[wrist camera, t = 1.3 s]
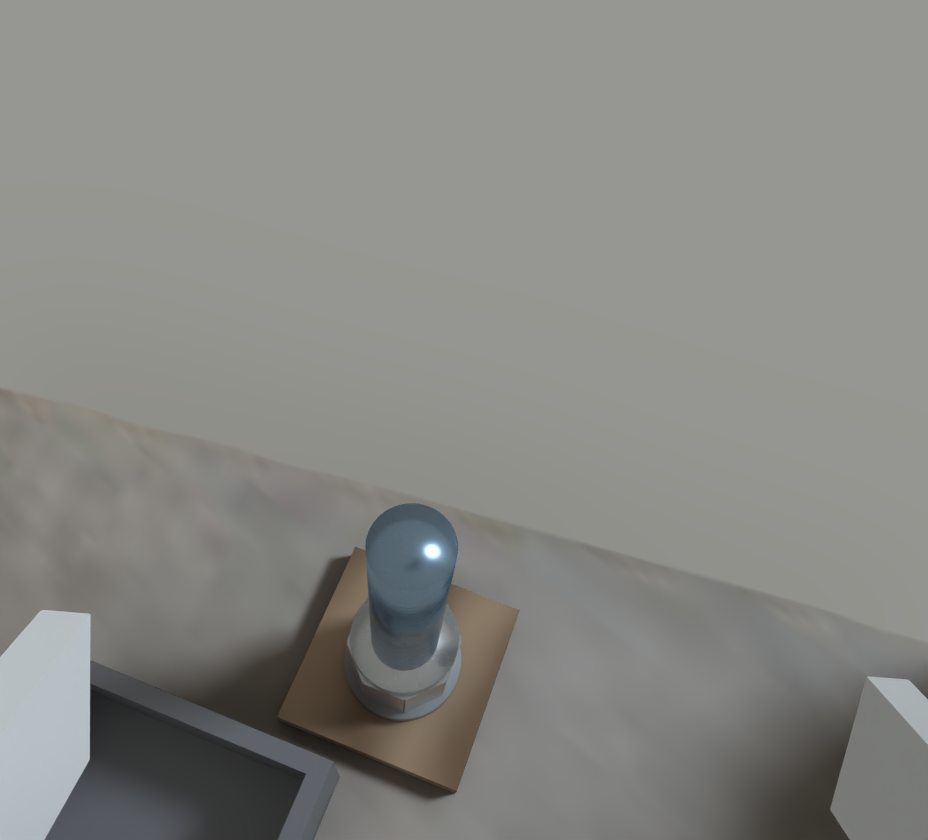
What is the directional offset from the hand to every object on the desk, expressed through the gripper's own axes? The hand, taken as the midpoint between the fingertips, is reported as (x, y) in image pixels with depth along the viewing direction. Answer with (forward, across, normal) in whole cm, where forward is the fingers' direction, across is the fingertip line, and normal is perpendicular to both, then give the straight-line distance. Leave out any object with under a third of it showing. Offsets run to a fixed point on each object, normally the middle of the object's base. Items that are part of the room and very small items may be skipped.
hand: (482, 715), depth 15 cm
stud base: (+34, 0, -20) cm, 39 cm away
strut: (+32, 0, -18) cm, 37 cm away
